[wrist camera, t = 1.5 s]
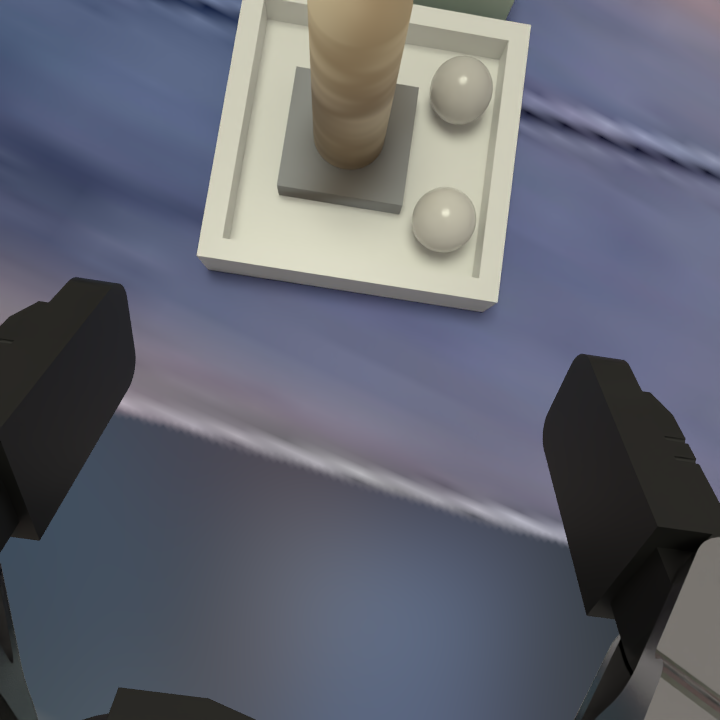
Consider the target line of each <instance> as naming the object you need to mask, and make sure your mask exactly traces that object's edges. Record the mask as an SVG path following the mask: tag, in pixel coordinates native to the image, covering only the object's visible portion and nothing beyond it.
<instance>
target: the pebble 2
mask: <svg viewBox="0 0 720 720" xmlns="http://www.w3.org/2000/svg"><path fill="white" fill-rule="evenodd" d="M475 226H476V211H475V208H474V205H473V203H472V201H471V200H470V199H469V197H468V196H467V195H466V194H464V193H463V192H462V191H460V190H458V189H455V188H452V187H439V188H435V189H432V190H430V191H429V192H427V193H426V194H424V195H423V196H422V197H421V198H420V199H419V201H418V202H417V204H416V206H415V208H414V210H413V214H412V227H413V231H414V234H415V236H416V238H417V239H418V241H419V242H420V243H421V244H422V245H423V246H424V247H426V248H427V249H429V250H432V251H435V252H440V253H446V252H451V251H454V250H457V249H459V248H460V247H462V246H463V245H464V244H466V243H467V241H468V240H469V239H470V238H471V236H472V234H473V232H474V230H475Z"/></svg>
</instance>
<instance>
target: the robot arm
mask: <svg viewBox="0 0 720 720" xmlns="http://www.w3.org/2000/svg"><path fill="white" fill-rule="evenodd" d="M134 370H135V348H134V341H133V335H132V328H131V321H130V314H129V308H128V301H127V295H126V291H125V289H124V287H123V286H122V285H121V284H118V283H111V282H105V281H98V280H91V279H85V278H78V277H75V278H72V279H71V280H69V281H68V282H67V283H66V285H65V286H64V287H63V288H62V289H61V290H60V291H59V292H58V293H57V294H56V295H55V297H54V298H53V299H52V300H51V301H50V302H49V303H48V302H41V301H38V302H37V303H35V304H33V305H31V306H29V307H27V308H25V309H23V310H21V311H19V312H18V313H16V314H14V315H12V316H10V317H9V318H8V319H7V320H6V321H5V322H4V323H3V324H2V325H1V326H0V552H1V550H2V549H3V547H4V546H5V544H6V543H7V541H8V539H9V538H10V537H16V538H24V539H31V540H40V539H41V537H42V535H43V534H44V532H45V530H46V528H47V527H48V525H49V523H50V522H51V520H52V518H53V517H54V515H55V513H56V512H57V510H58V508H59V506H60V505H61V503H62V501H63V499H64V498H65V496H66V494H67V493H68V491H69V489H70V487H71V486H72V484H73V482H74V481H75V479H76V477H77V475H78V474H79V472H80V470H81V469H82V467H83V465H84V464H85V462H86V460H87V458H88V457H89V455H90V453H91V452H92V450H93V448H94V446H95V445H96V443H97V441H98V440H99V438H100V436H101V434H102V433H103V431H104V429H105V428H106V426H107V424H108V423H109V421H110V419H111V417H112V416H113V414H114V412H115V411H116V409H117V407H118V405H119V404H120V402H121V400H122V399H123V397H124V395H125V393H126V392H127V390H128V388H129V386H130V384H131V381H132V378H133V375H134ZM543 447H544V452H545V455H546V459H547V463H548V467H549V471H550V475H551V479H552V483H553V487H554V490H555V494H556V498H557V502H558V506H559V510H560V514H561V518H562V521H563V525H564V529H565V533H566V537H567V541H568V545H569V549H570V553H571V556H572V560H573V564H574V568H575V572H576V576H577V580H578V583H579V587H580V591H581V595H582V599H583V603H584V607H585V610H586V615H587V616H594V617H601V618H610V619H615V621H616V624H617V628H618V631H619V634H620V635H618V637H617V638H616V639H615V640H614V641H613V643H612V644H611V646H610V648H609V650H608V652H607V654H606V656H605V658H604V660H603V663H602V664H601V666H600V668H599V670H598V672H597V675H596V676H595V679H594V680H593V682H592V685H591V687H590V689H589V691H588V693H587V695H586V697H585V699H584V701H583V703H582V705H581V707H580V709H579V711H578V713H577V715H576V717H575V719H574V720H720V503H719V501H718V499H717V497H716V495H715V494H714V492H713V490H712V488H711V486H710V484H709V482H708V480H707V478H706V477H705V475H704V473H703V471H702V469H701V467H700V465H699V464H696V463H695V461H696V458H695V456H694V454H693V452H692V450H691V448H690V447H689V445H688V444H686V443H685V437H684V435H683V433H682V431H681V430H680V428H679V426H678V424H677V422H676V420H675V418H674V416H673V415H672V414H671V413H670V412H669V411H668V410H667V409H666V408H665V407H664V406H663V405H662V404H661V403H660V402H659V401H658V400H657V399H656V398H655V397H654V396H653V395H652V394H651V393H650V392H643V391H642V390H641V388H640V386H639V384H638V382H637V380H636V378H635V376H634V374H633V372H632V370H631V368H630V366H629V364H628V363H627V362H626V361H624V360H620V359H613V358H606V357H600V356H593V355H586V354H580V355H578V356H577V357H576V358H575V359H574V361H573V362H572V364H571V366H570V368H569V370H568V372H567V374H566V376H565V378H564V381H563V383H562V385H561V387H560V389H559V391H558V393H557V395H556V397H555V399H554V401H553V403H552V405H551V407H550V410H549V412H548V414H547V416H546V419H545V423H544V428H543ZM0 720H38V717H37V714H36V710H35V708H34V704H33V701H32V698H31V696H30V693H29V691H28V688H27V684H26V681H25V678H24V674H23V670H22V666H21V661H20V656H19V651H18V646H17V641H16V636H15V631H14V627H13V621H12V616H11V611H10V607H9V602H8V597H7V592H6V587H5V583H4V577H3V573H2V567H1V564H0ZM84 720H255V719H253V718H251V717H248V716H246V715H244V714H242V713H239V712H237V711H235V710H233V709H231V708H228V707H226V706H224V705H222V704H220V703H217V702H215V701H213V700H211V699H208V698H200V697H191V696H183V695H176V694H168V693H160V692H152V691H144V690H135V689H127V688H118V690H117V694H116V696H115V699H114V701H113V704H112V707H111V709H110V712H109V714H103V715H98V716H94V717H91V718H87V719H84Z"/></svg>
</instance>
